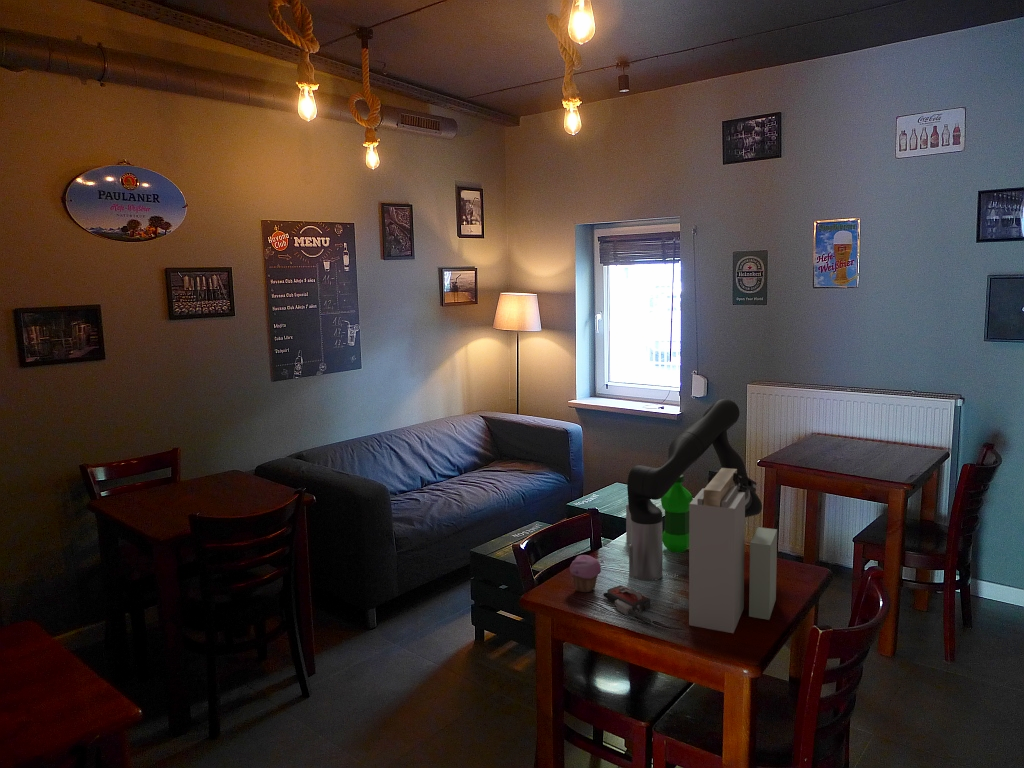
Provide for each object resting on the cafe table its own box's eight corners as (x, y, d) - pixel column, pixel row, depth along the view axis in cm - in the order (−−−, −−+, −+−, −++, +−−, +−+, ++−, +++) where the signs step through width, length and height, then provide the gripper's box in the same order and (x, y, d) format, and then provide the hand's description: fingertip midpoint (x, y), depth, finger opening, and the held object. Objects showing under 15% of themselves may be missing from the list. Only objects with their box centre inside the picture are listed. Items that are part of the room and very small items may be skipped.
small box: (638, 546, 239) (638, 509, 238) (625, 541, 244) (625, 504, 243) (656, 541, 244) (656, 504, 242) (643, 536, 249) (643, 500, 247)
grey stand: (689, 625, 183) (689, 497, 179) (702, 601, 196) (702, 482, 192) (733, 633, 178) (734, 502, 174) (743, 608, 192) (745, 486, 187)
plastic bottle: (698, 548, 236) (699, 474, 232) (681, 558, 228) (681, 481, 225) (672, 542, 243) (672, 469, 239) (654, 550, 235) (654, 476, 232)
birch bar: (703, 505, 177) (703, 489, 177) (721, 481, 198) (721, 467, 197) (720, 507, 176) (720, 491, 175) (736, 483, 196) (736, 469, 195)
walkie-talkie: (597, 601, 200) (647, 628, 183) (596, 586, 199) (647, 611, 183) (620, 593, 205) (672, 618, 188) (620, 578, 204) (672, 602, 187)
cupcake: (579, 581, 213) (578, 548, 211) (606, 587, 208) (605, 554, 207) (565, 592, 205) (564, 558, 204) (592, 598, 201) (592, 564, 199)
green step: (749, 616, 187) (750, 542, 184) (756, 596, 199) (757, 527, 196) (769, 619, 185) (770, 545, 182) (775, 599, 196) (777, 529, 194)
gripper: (711, 476, 210) (700, 459, 196) (762, 481, 204) (754, 464, 190) (708, 502, 208) (697, 486, 194) (760, 507, 201) (752, 491, 187)
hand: (725, 475), depth 192 cm, fingers closed on birch bar, 4 cm apart
